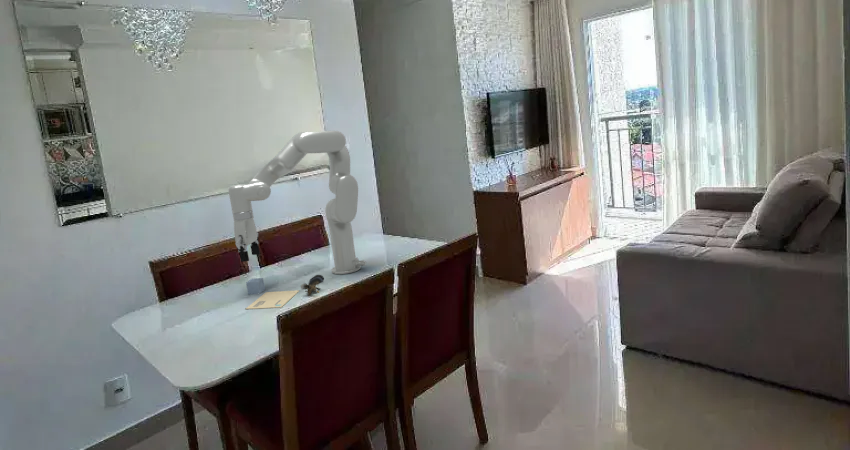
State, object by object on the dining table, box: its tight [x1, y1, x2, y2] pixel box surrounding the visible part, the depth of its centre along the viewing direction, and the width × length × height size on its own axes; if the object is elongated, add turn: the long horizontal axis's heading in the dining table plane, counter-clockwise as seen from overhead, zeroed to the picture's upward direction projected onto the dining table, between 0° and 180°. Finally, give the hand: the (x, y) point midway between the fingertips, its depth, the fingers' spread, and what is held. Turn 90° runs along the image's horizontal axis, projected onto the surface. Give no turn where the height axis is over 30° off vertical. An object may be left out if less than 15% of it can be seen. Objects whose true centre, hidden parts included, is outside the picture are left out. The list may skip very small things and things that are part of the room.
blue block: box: [245, 277, 266, 295], centre depth 220 cm, size 5×5×5 cm
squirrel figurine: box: [300, 274, 325, 297], centre depth 211 cm, size 8×7×9 cm
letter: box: [245, 289, 300, 310], centre depth 208 cm, size 14×18×1 cm
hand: (250, 257), depth 218 cm, fingers open, 9 cm apart
